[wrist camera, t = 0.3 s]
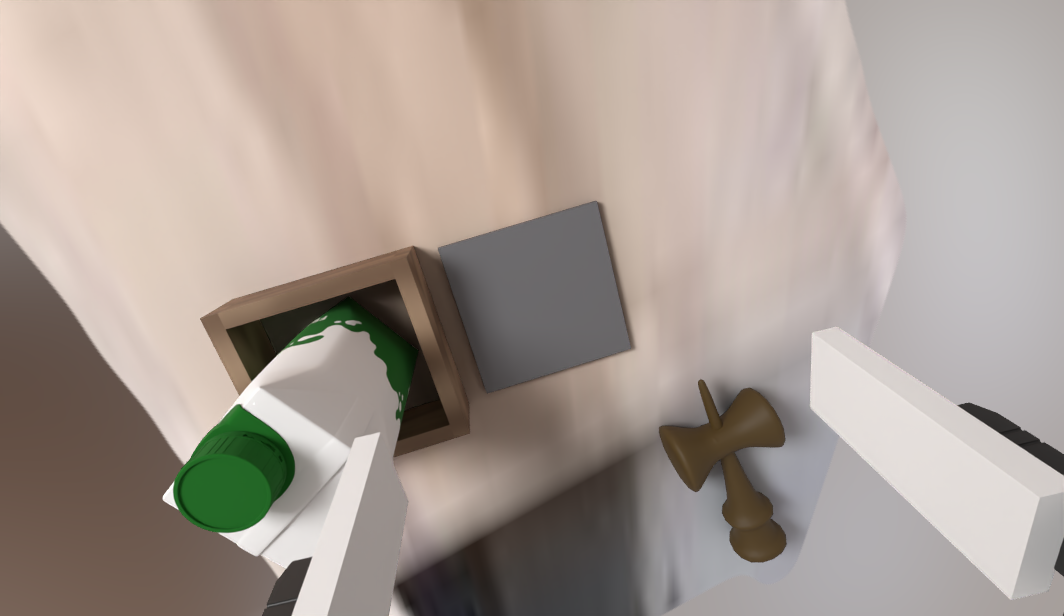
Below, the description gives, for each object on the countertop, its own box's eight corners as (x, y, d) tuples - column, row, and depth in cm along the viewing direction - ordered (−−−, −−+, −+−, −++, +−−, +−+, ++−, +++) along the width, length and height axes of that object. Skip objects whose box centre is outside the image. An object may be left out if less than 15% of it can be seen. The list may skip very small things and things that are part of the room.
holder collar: (232, 299, 39) (200, 318, 34) (413, 245, 39) (406, 257, 35) (307, 454, 43) (288, 490, 38) (469, 403, 44) (469, 433, 39)
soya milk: (346, 279, 39) (236, 390, 20) (435, 350, 42) (412, 506, 23) (277, 359, 41) (110, 535, 21) (368, 423, 43) (292, 631, 24)
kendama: (700, 543, 52) (636, 389, 46) (783, 501, 52) (731, 342, 46) (731, 590, 47) (664, 422, 40) (824, 544, 47) (772, 369, 40)
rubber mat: (438, 247, 40) (437, 248, 39) (595, 200, 40) (597, 201, 40) (486, 390, 44) (486, 393, 43) (628, 346, 44) (631, 348, 44)
